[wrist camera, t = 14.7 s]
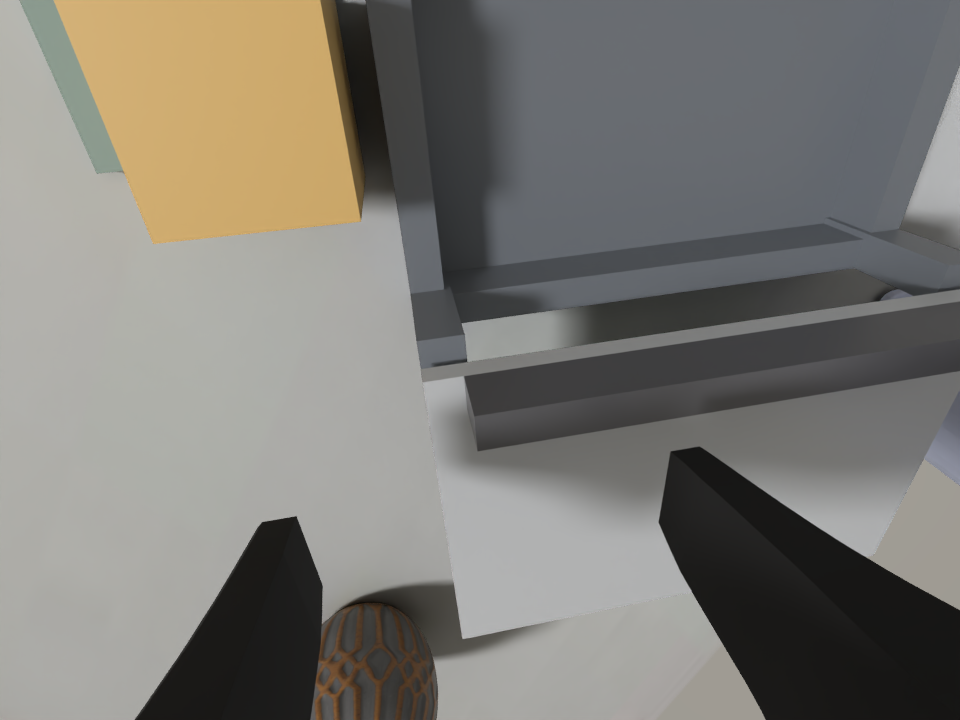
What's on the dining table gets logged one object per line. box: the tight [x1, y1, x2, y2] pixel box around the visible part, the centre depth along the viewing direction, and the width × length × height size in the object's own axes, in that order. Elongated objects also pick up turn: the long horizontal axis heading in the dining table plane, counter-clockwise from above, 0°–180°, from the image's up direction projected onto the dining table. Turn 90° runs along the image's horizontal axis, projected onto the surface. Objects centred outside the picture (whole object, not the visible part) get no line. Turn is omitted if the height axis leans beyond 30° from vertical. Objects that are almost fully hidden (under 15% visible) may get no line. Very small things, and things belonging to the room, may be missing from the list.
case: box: [365, 0, 960, 369], centre depth 14 cm, size 16×11×6 cm
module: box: [54, 0, 365, 244], centre depth 12 cm, size 4×4×5 cm
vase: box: [310, 603, 438, 720], centre depth 24 cm, size 7×7×9 cm
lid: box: [421, 289, 960, 639], centre depth 16 cm, size 16×11×2 cm
